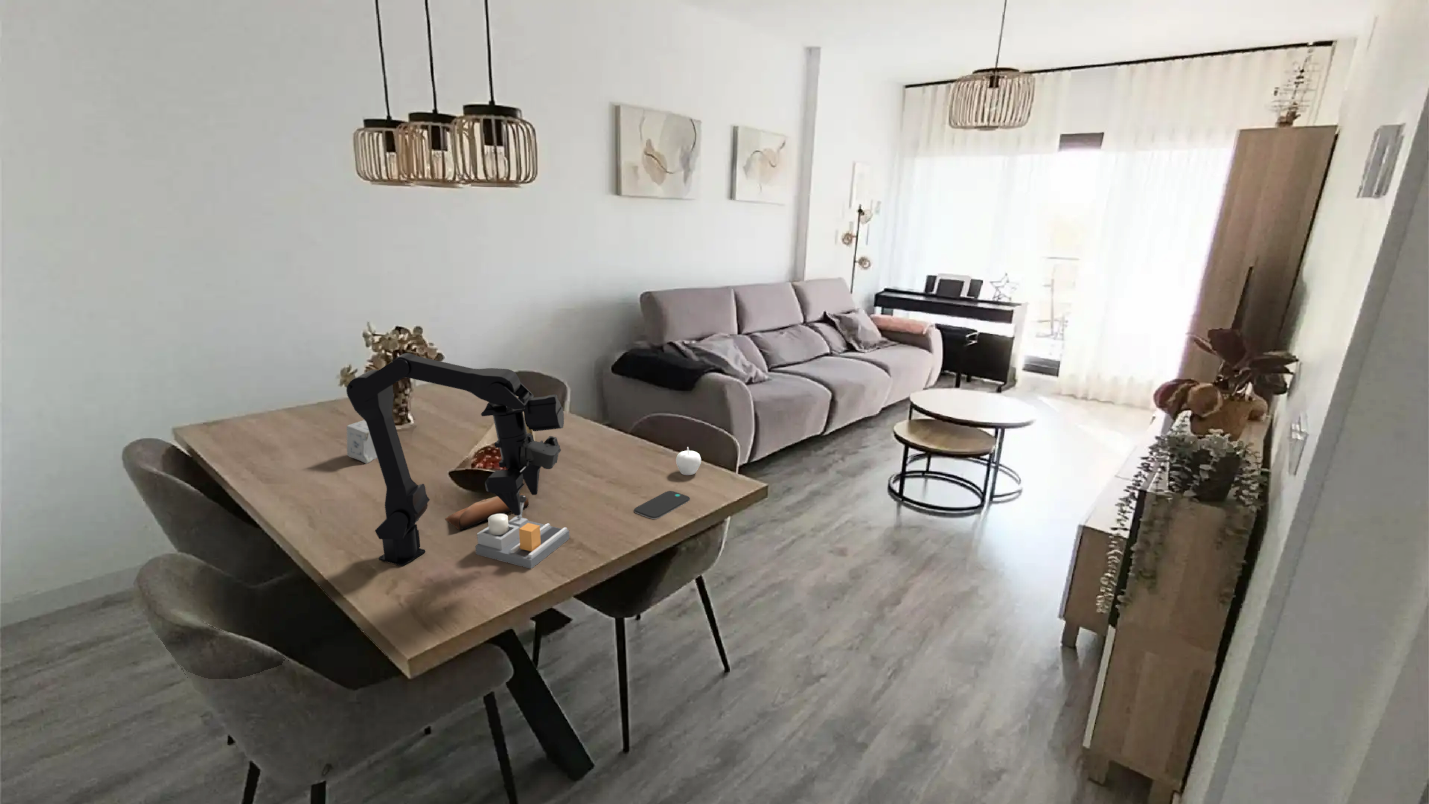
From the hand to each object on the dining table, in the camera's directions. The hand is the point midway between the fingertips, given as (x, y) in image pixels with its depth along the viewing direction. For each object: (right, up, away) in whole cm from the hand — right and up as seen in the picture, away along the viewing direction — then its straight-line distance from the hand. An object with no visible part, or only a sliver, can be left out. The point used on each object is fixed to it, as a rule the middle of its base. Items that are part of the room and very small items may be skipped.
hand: (526, 504), depth 135 cm
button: (-8, -6, +6) cm, 11 cm away
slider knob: (0, -10, +4) cm, 10 cm away
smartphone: (+26, -5, +30) cm, 40 cm away
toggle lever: (-6, -5, +14) cm, 16 cm away
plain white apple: (+31, +1, +50) cm, 59 cm away
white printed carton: (-59, +5, +53) cm, 80 cm away
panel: (-3, -10, +8) cm, 13 cm away
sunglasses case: (-16, -6, +22) cm, 28 cm away
